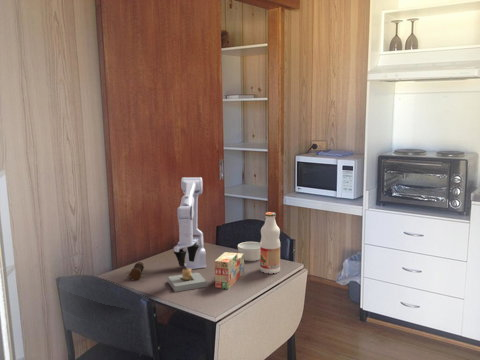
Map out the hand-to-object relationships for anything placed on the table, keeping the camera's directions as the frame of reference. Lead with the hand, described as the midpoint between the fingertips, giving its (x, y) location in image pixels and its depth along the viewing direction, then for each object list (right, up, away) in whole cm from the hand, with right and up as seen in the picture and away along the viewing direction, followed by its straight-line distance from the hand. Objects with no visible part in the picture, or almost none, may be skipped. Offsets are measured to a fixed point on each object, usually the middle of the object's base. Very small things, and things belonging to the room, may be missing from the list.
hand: (186, 263), depth 189 cm
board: (0, -9, +1) cm, 9 cm away
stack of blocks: (+19, -9, +7) cm, 22 cm away
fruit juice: (+38, -7, +18) cm, 42 cm away
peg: (0, -9, +1) cm, 9 cm away
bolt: (-24, -8, +14) cm, 29 cm away
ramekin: (+29, -4, +37) cm, 47 cm away
